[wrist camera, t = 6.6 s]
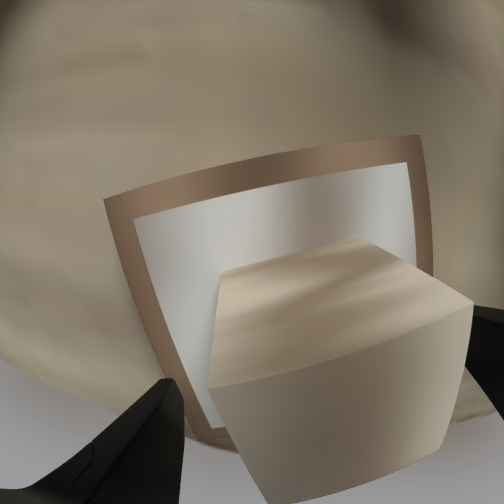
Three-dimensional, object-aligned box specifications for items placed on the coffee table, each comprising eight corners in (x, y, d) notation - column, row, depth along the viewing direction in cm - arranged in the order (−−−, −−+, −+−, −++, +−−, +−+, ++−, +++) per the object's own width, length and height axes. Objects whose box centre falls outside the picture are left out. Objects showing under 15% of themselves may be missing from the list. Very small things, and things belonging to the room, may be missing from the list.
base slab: (384, 140, 12) (421, 134, 9) (400, 353, 15) (425, 383, 12) (130, 193, 12) (101, 199, 9) (203, 402, 15) (198, 442, 12)
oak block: (359, 236, 10) (474, 301, 4) (370, 349, 11) (439, 449, 6) (221, 271, 10) (207, 388, 4) (256, 382, 11) (270, 507, 6)
